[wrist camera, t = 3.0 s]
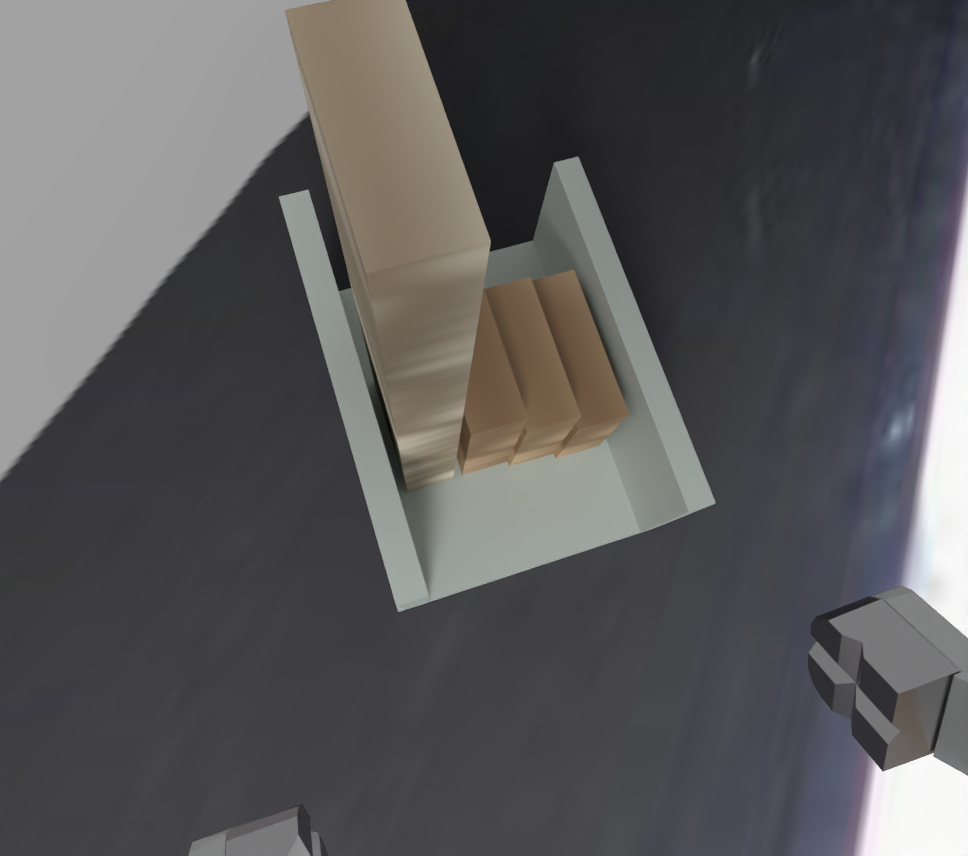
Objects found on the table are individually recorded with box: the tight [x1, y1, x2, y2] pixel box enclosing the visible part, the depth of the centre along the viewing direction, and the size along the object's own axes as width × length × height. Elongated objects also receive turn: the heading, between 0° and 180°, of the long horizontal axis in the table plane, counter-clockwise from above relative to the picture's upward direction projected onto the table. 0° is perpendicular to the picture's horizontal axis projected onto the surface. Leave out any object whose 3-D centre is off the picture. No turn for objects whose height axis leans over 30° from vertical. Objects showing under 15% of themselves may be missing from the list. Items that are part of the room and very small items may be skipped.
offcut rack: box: [279, 157, 715, 612], centre depth 28 cm, size 12×14×10 cm
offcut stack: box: [457, 270, 629, 475], centre depth 28 cm, size 6×6×7 cm
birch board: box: [285, 0, 491, 492], centre depth 22 cm, size 2×5×20 cm, turn 18°
